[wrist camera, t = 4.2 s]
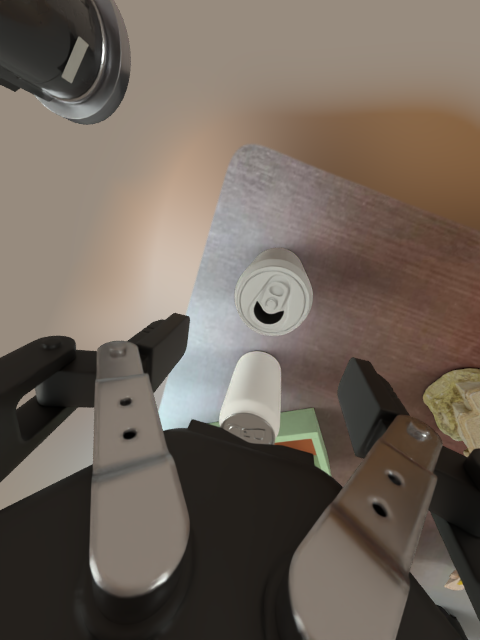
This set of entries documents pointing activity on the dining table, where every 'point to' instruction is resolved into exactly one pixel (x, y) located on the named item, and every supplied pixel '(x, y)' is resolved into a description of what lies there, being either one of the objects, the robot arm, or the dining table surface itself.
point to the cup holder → (302, 435)
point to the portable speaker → (454, 623)
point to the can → (253, 399)
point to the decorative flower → (454, 582)
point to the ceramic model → (457, 406)
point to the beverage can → (274, 293)
